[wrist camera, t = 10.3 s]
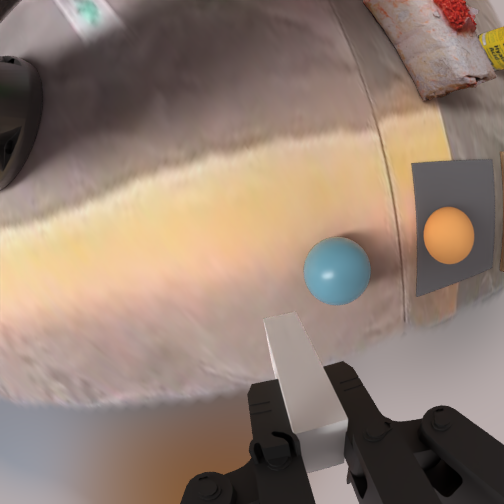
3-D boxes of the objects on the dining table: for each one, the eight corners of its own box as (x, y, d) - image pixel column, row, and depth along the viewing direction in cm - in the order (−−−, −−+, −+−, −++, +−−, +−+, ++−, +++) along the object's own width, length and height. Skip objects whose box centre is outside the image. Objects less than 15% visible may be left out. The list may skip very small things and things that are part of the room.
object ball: (479, 271, 20) (465, 252, 24) (481, 212, 18) (465, 201, 23) (427, 274, 22) (420, 254, 27) (426, 214, 21) (418, 203, 25)
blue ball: (375, 314, 21) (357, 283, 26) (383, 248, 19) (361, 227, 24) (307, 321, 21) (300, 287, 26) (307, 253, 19) (299, 230, 24)
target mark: (416, 296, 27) (417, 296, 27) (411, 163, 23) (412, 163, 23) (491, 267, 27) (492, 267, 27) (491, 159, 24) (492, 159, 23)
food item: (347, -5, 18) (389, -55, 9) (398, -9, 18) (443, -46, 8) (415, 105, 22) (484, 88, 12) (457, 90, 21) (519, 76, 12)
